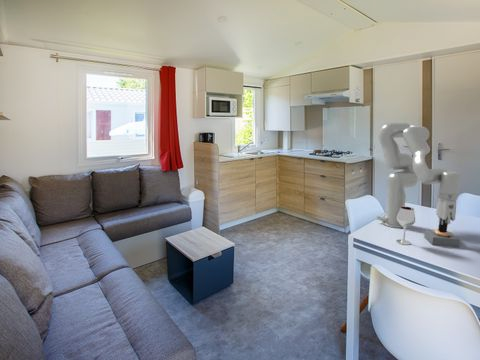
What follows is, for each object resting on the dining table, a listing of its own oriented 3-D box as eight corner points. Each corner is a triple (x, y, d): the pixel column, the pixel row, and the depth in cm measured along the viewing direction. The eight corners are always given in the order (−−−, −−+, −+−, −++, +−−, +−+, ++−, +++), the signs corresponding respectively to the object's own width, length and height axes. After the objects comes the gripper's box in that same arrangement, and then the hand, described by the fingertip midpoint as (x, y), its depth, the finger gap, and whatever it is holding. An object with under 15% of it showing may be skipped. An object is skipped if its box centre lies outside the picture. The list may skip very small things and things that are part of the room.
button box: (432, 244, 147) (433, 237, 146) (424, 237, 157) (425, 230, 156) (459, 247, 145) (460, 239, 144) (449, 239, 154) (450, 232, 153)
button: (436, 243, 148) (437, 233, 147) (430, 238, 154) (432, 229, 153) (451, 244, 146) (453, 234, 146) (445, 239, 153) (446, 230, 152)
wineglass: (390, 239, 154) (394, 206, 150) (405, 239, 154) (409, 205, 151) (400, 245, 146) (404, 210, 142) (416, 245, 146) (420, 210, 143)
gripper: (463, 200, 138) (457, 237, 142) (448, 193, 152) (443, 227, 156) (445, 199, 140) (440, 236, 143) (432, 192, 154) (428, 225, 158)
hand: (442, 231), depth 150 cm, fingers closed
